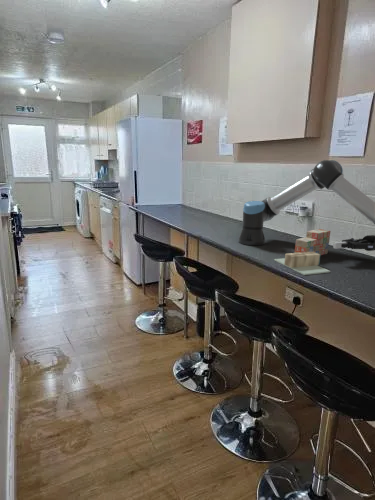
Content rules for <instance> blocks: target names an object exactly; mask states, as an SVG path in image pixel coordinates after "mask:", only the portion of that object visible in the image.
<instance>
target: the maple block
mask: <svg viewBox="0 0 375 500" xmlns="http://www.w3.org/2000/svg"><path fill="white" fill-rule="evenodd" d="M321 256H322V255H321V254H318V253H316V252H301V253H294V252H293V253H292V252H290V253H285V255H284V258H285V263H284V264H285V265H287V266H289V267H291V268H293V267H303V266H314V265H318V266H320V262H321ZM287 266H286V267H287ZM289 267H288V268H289ZM291 268H290V269H291Z"/></svg>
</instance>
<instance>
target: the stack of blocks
mask: <svg viewBox="0 0 375 500" xmlns="http://www.w3.org/2000/svg"><path fill="white" fill-rule="evenodd" d="M330 238H331V230H328V229H322V228H317V229H312V230H307V231H306V236H305V237H301V238H296V239H295V245H294V252H293V253H301V252H316V253H318V254H321V255H320V256H323V255H327V254H328V251H329V245H330Z"/></svg>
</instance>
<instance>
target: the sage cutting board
mask: <svg viewBox="0 0 375 500" xmlns="http://www.w3.org/2000/svg"><path fill="white" fill-rule="evenodd" d="M273 261H275V262H277V264H280V265H282V266H285V267H287V268H289V269H291V270H293V271H295V272H297V273H299V274H301V275H303V276H308V275H318V274H319V275H320V274H326V273H331V270H329V269H326V268H324V267H322V266H320V265H314V266H303V267H293V268H291V267H289V266H287V265H285V264H284V263H285V257H283V258H274V259H273Z"/></svg>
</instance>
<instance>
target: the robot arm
mask: <svg viewBox="0 0 375 500" xmlns="http://www.w3.org/2000/svg"><path fill="white" fill-rule="evenodd" d="M344 176H345V175H344V170H343V166H342V165H341V163H339V162H338V161H337V160H335V159H334V160H333V159H330V160H329V159H324V160H321V161H319V162H318V163H316V165H315V166H314V167H313V169H310V171H309V174H308V175H307V176H305V177H303V178H302V179H300V180H299V181H297V182H295V183H293V184H292V185H290V186H289V187H287V188H285V189H284V190H282V191H281V192H279V193H278V194H276V195H275V196H273V197H271V196H268V197H266V198H265V199H263V200H251V201H246V202H245V203H244V204H243V209H242V213H243V214H242V227H241V228H242V229H241V231H240V234H239V237H238V243H239V244H242V245H248V246H262V245H265V244H266V238H265V234H264V223H265V222H267V221H271V220H272V219H273V218H274V217H276V216H277V215H279V214H280V211H281V210H283V209H284V208H287V207H288V206H290V205H291V204H293V203H295V202H297V201H298V200H300V199H302V198H303V197H305V196H307V195H308V194H310V193H312V192H313V191H315V190H317V189H319V190H322V189H324V188H325V189H327V190H328V191H333V192H334V193H335V194H336V195H338V196H339V197H340V198H341V199H342V200H344V201H345V202H346V203H347V204H349V205H350V206H351V207H353V208H354V209H355V210H356V211H358V212H359V213H360V214H362V216H364V217H365V218H366V219H368V221H370V222H371V223H372V224H373V225H375V201H374V200H373V199H372V198H371V197H369V196H368V195H367V194H366V193H364V192H363V191H362V190H360V189H359V188H358V187H356V186H355V185H354V184H353V183H351V181H349V180H347V178H345V177H344ZM332 248H333V249H335V250H337V249H351V250H364V251H366V252H371V251H372V252H373V251H375V234H369V235H364V236H363V238H359V239H355V238H353V237H351V238H349V239H348V238H347V239H342V240H341V241H335V242H333V246H332Z"/></svg>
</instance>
